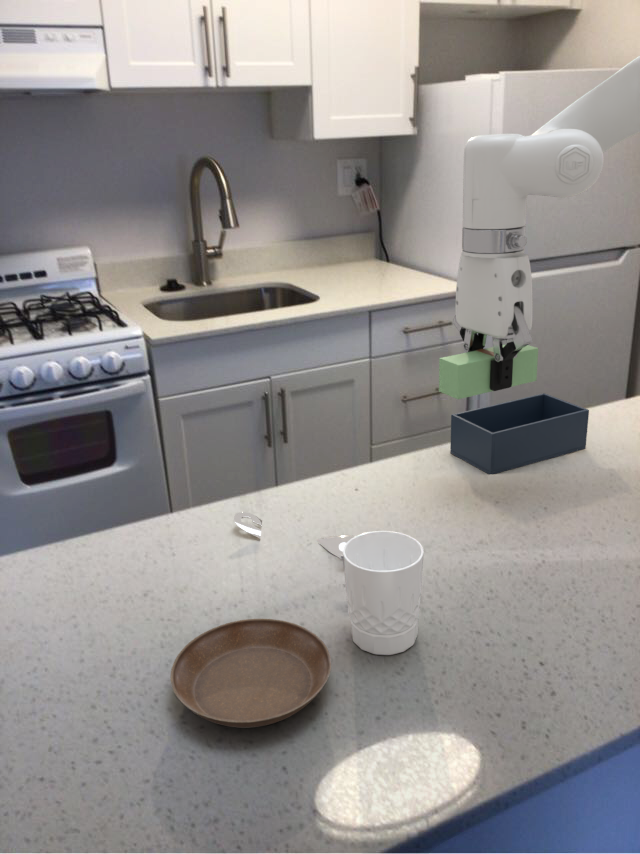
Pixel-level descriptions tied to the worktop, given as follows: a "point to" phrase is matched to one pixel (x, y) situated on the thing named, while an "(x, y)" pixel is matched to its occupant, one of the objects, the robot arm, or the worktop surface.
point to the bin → (518, 432)
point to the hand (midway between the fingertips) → (488, 382)
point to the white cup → (383, 590)
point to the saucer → (251, 672)
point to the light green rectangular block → (482, 371)
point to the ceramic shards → (330, 543)
